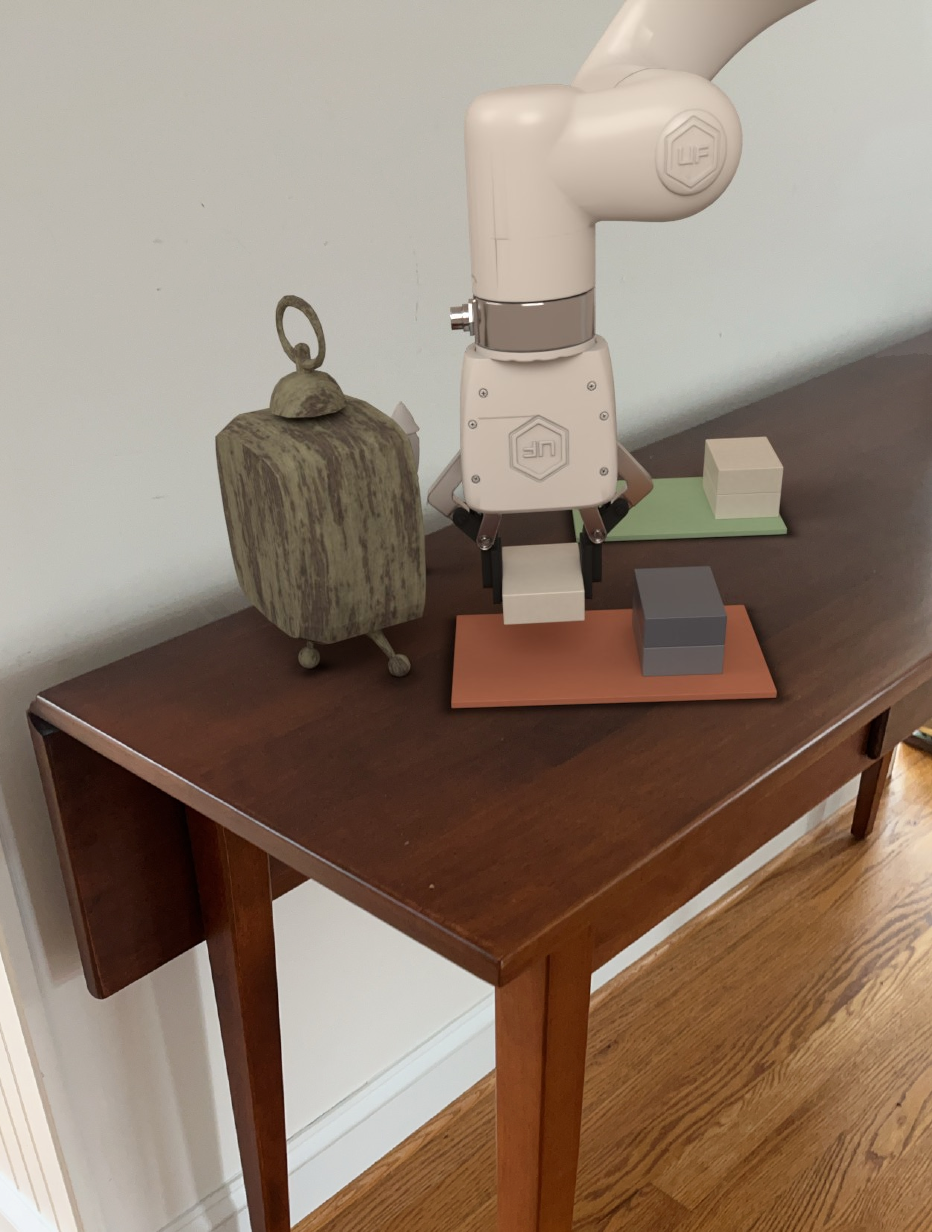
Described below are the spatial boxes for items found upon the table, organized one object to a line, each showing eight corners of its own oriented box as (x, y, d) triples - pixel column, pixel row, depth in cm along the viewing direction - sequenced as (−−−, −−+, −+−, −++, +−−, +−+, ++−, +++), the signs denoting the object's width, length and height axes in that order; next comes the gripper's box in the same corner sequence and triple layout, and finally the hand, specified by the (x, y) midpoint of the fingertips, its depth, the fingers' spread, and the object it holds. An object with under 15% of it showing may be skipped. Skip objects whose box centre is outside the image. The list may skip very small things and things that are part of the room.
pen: (392, 570, 106) (378, 400, 97) (421, 563, 106) (410, 394, 98) (404, 580, 104) (390, 407, 96) (433, 573, 105) (422, 402, 96)
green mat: (759, 479, 118) (759, 474, 118) (786, 534, 107) (787, 528, 107) (569, 487, 120) (569, 482, 119) (576, 542, 108) (576, 537, 108)
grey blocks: (706, 621, 93) (710, 565, 91) (722, 674, 86) (727, 615, 84) (631, 624, 93) (633, 568, 91) (642, 676, 87) (645, 618, 84)
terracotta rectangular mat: (743, 610, 95) (744, 604, 95) (776, 698, 84) (777, 691, 84) (457, 621, 97) (456, 615, 97) (451, 708, 86) (451, 701, 85)
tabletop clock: (434, 680, 89) (408, 304, 74) (320, 716, 86) (269, 330, 71) (345, 611, 99) (307, 269, 85) (240, 641, 96) (182, 291, 81)
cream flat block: (578, 570, 91) (578, 541, 90) (584, 621, 84) (584, 590, 83) (503, 574, 92) (501, 546, 90) (503, 625, 85) (502, 595, 84)
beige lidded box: (762, 483, 116) (766, 436, 113) (778, 517, 109) (783, 466, 106) (702, 486, 116) (705, 438, 114) (715, 519, 109) (718, 469, 107)
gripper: (392, 346, 75) (418, 623, 86) (681, 326, 74) (671, 610, 84) (400, 316, 81) (423, 579, 92) (667, 297, 80) (659, 566, 90)
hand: (542, 591), depth 88 cm, fingers closed on cream flat block, 5 cm apart
